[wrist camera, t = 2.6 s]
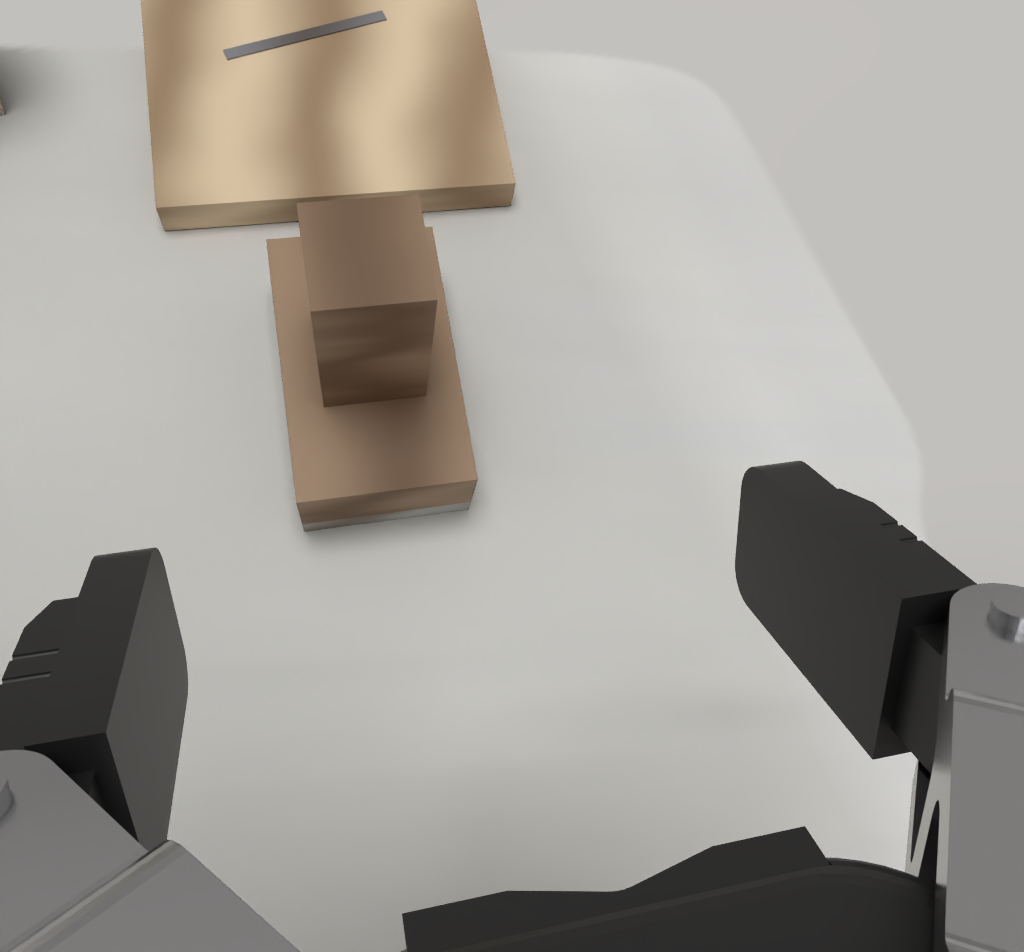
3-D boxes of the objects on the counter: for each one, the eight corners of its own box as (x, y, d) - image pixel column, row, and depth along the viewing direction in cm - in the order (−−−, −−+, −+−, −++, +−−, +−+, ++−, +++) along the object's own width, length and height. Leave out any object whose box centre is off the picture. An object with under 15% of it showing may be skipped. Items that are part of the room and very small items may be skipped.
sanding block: (304, 532, 33) (275, 426, 24) (276, 290, 36) (240, 112, 27) (468, 510, 34) (502, 400, 25) (427, 277, 37) (443, 101, 28)
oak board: (164, 230, 36) (155, 206, 35) (136, -139, 42) (128, -173, 41) (510, 205, 39) (515, 182, 37) (437, -139, 45) (439, -171, 43)
